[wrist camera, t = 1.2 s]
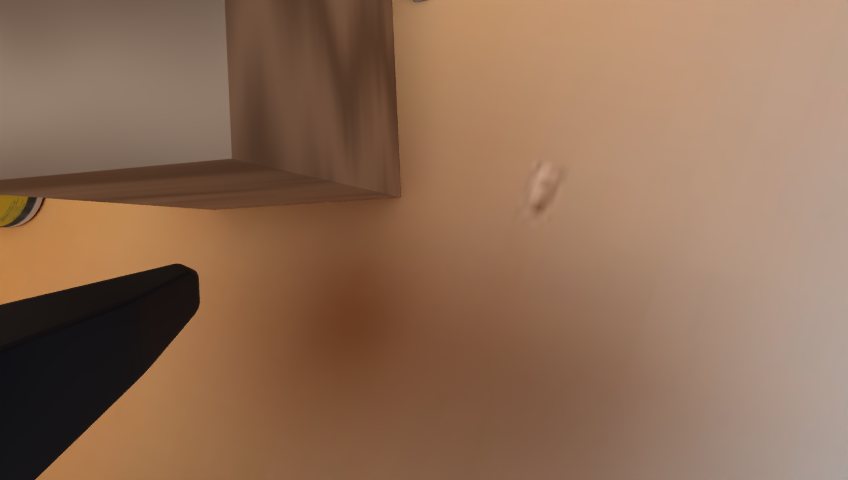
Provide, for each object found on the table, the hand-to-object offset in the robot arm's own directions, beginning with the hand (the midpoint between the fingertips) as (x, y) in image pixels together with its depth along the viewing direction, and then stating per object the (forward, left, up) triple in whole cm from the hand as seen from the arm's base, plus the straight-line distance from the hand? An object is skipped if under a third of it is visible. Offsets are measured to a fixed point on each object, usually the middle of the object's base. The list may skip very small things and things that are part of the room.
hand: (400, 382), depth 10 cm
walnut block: (-5, +12, -14) cm, 19 cm away
